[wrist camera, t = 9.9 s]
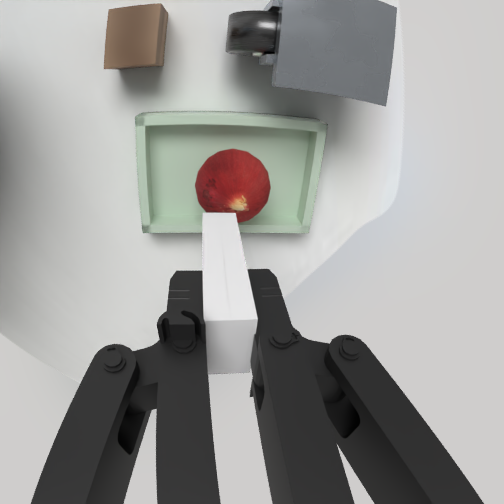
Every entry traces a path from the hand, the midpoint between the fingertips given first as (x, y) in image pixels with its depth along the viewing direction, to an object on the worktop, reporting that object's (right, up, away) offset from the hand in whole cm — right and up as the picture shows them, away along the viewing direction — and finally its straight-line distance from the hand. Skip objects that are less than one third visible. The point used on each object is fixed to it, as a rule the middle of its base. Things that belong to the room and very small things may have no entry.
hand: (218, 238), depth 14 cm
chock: (-8, +17, +5) cm, 19 cm away
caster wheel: (+5, +17, +7) cm, 19 cm away
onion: (0, +7, +12) cm, 14 cm away
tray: (-1, +7, +12) cm, 14 cm away
